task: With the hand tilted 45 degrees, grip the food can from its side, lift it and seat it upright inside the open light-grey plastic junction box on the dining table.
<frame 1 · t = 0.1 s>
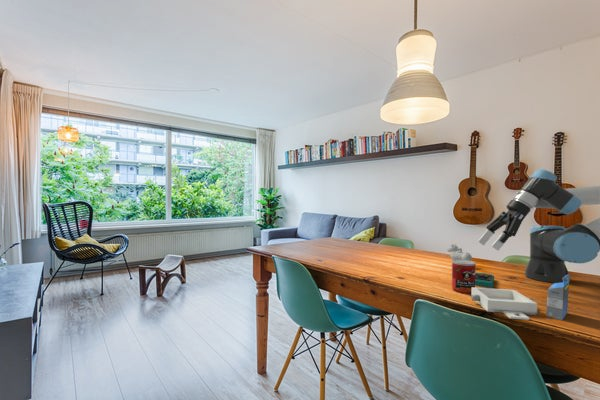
hand: (487, 245, 122), 15 cm above the table, tool tilted 35°, fingers open, 13 cm apart
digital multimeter: (483, 284, 123), on the table
canned food: (463, 291, 112), on the table
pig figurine: (458, 266, 153), on the table
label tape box: (557, 315, 89), on the table
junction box: (501, 305, 96), on the table
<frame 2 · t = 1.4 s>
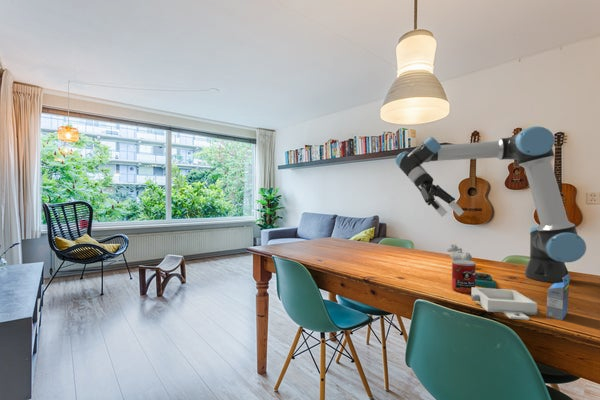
hand: (453, 214, 121), 28 cm above the table, tool tilted 45°, fingers open, 13 cm apart
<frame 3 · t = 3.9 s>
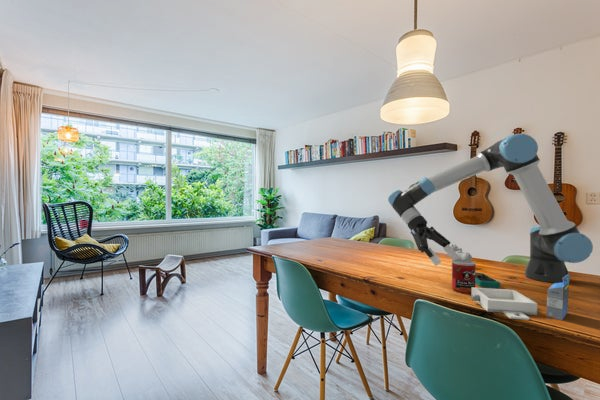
hand: (448, 261, 116), 10 cm above the table, tool tilted 45°, fingers open, 13 cm apart
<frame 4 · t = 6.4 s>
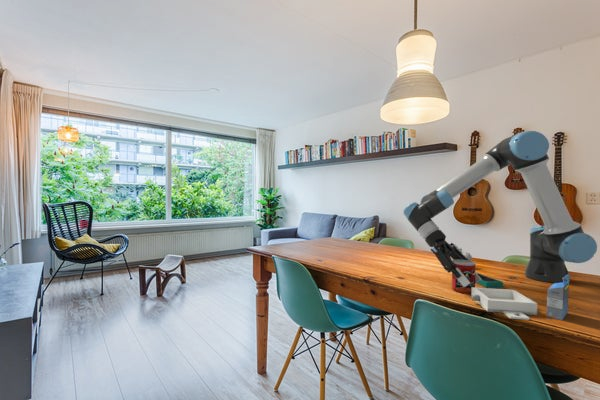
hand: (472, 283, 109), 4 cm above the table, tool tilted 45°, fingers closed on canned food, 8 cm apart
canned food: (463, 291, 112), on the table, touching gripper
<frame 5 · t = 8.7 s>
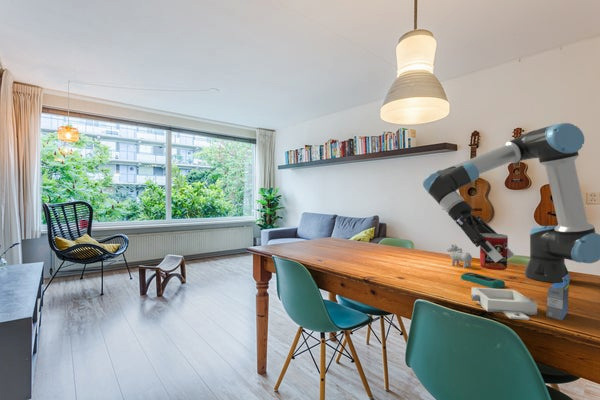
hand: (505, 258, 96), 15 cm above the table, tool tilted 45°, fingers closed on canned food, 8 cm apart
canned food: (493, 268, 99), point 12 cm above the table, touching gripper
when the fingers open (6 cm above the table, at t = 11.1 s): canned food drops 2 cm, resting on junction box.
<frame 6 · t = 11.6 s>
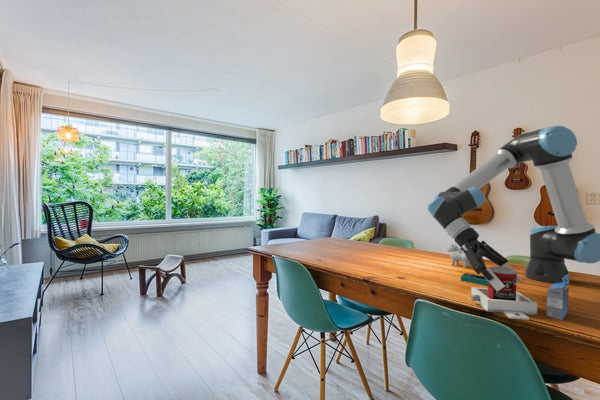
hand: (510, 285, 94), 7 cm above the table, tool tilted 45°, fingers open, 13 cm apart
canned food: (501, 303, 97), point 1 cm above the table, touching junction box
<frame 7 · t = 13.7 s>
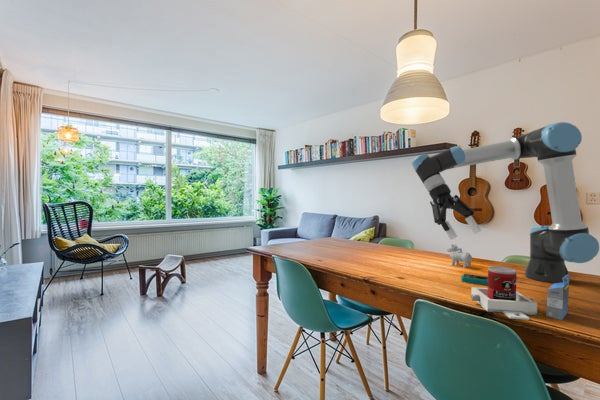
hand: (466, 235, 112), 21 cm above the table, tool tilted 35°, fingers open, 13 cm apart
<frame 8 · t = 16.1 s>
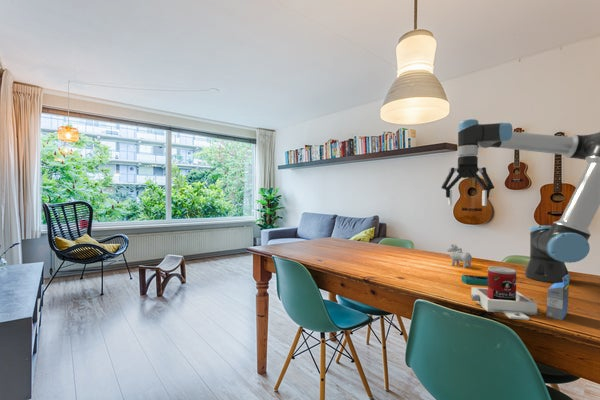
hand: (466, 205, 128), 32 cm above the table, tool pointing down, fingers open, 13 cm apart
at the end: canned food inside the target area on the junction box (0.1 cm from its centre), point 0.6 cm above the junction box's base; canned food tilted 0°; the gripper is holding nothing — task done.
